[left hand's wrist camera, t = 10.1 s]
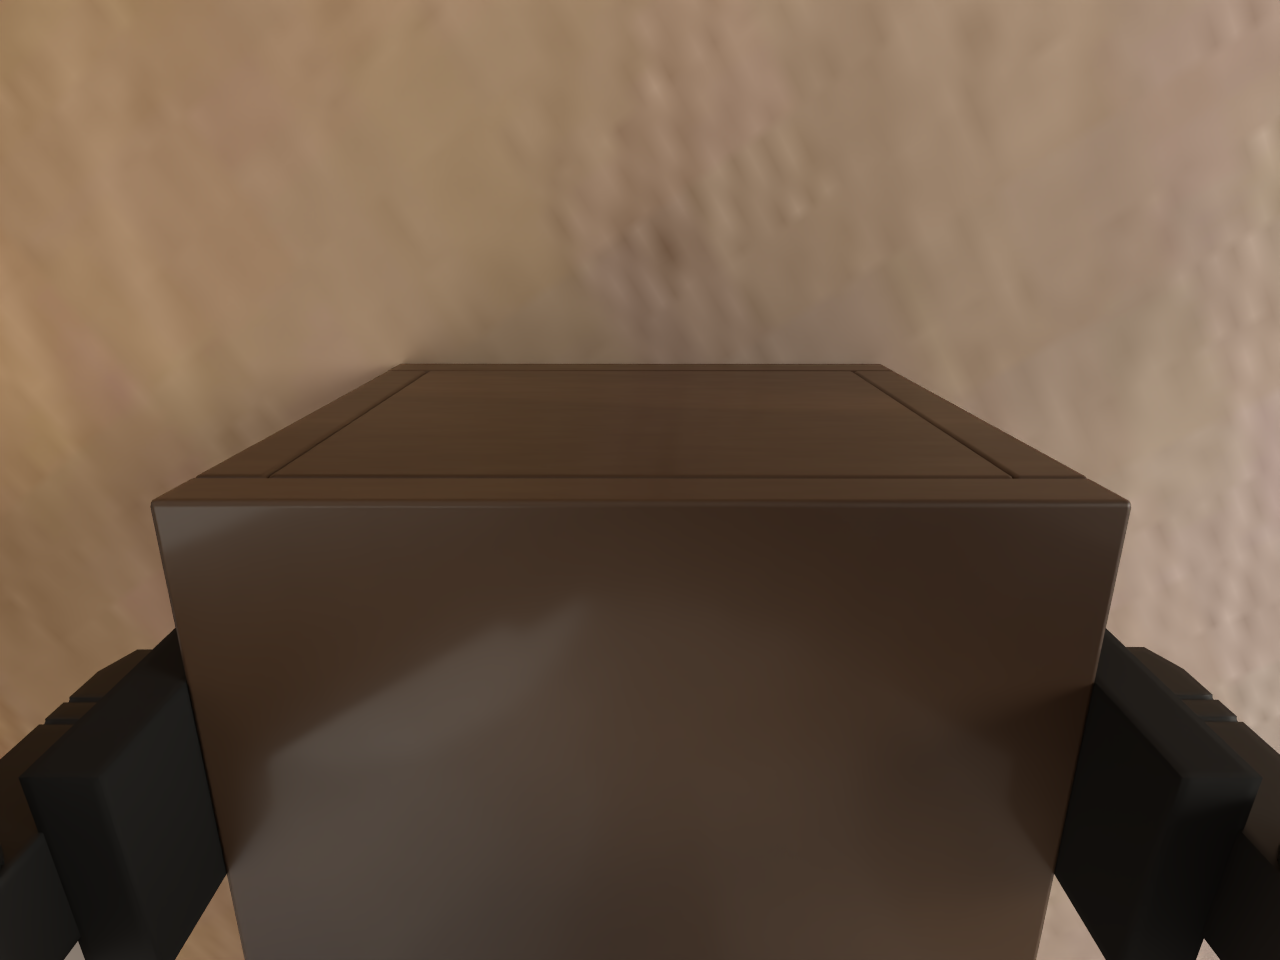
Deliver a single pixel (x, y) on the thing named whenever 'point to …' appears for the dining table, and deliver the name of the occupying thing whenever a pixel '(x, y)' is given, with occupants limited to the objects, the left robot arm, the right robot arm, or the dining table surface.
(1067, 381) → the dining table surface
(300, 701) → the cabinet
